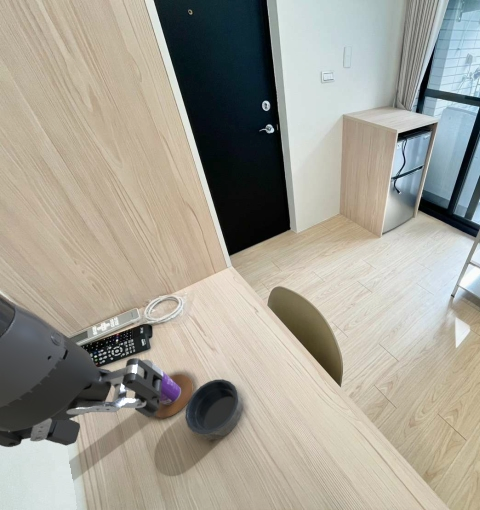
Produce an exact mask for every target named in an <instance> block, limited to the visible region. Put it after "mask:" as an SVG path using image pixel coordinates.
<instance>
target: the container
mask: <svg viewBox="0 0 480 510" xmlns="http://www.w3.org/2000/svg"><path fill="white" fill-rule="evenodd" d="M140 360H141V361H143V362H144V363H145V364H147V365H148V366H149V367H151V368H152V369H154V370H155V371H156V372H158V373H159V374H160V375H162V376H163V380H162V385H161V398H160V402H161V403H162V404H164V405H170V404H172V403H174V402H175V401H177V399H178V398H179V397H180V394H181V388H180V387H179V386H178V385H177V384H176V383H175V382H174V381H173V380H172V379H171V378H170V376H169V375H168V374H166V373H165V372H164V371H163V370H162V369H161V368H160V367H159V366H157V364H155V363H154V362H152V361H151V360H150V359H140Z"/></svg>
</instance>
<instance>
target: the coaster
mask: <svg viewBox="0 0 480 510" xmlns="http://www.w3.org/2000/svg"><path fill="white" fill-rule="evenodd" d="M169 377H170V378H171V379H172V380H173V381H174V382H175V383H176V384H177V385H178V386H179V387H180V388H181V394H180V397H179V398H178V399H177V401H175V402H174V403H172V404H170V405H164V404H162V403H161V402H159V410H158V411H157V413H156V415H155V416H154V417H156V418H159V419H160V418H161V419H162V418H163V419H164V418H169V417H173V416H174V415H176V414H177V413H180V411H182V410H183V409H184V408H185V407H187V405H188V402H189V400H190V398H191V397H192V395H193V394H194V384H193V381H192V379H191V378H190V377H189V376H187V375H186V374H182V373H181V374H179V373H178V374H172V375H170V376H169Z"/></svg>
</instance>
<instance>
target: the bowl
mask: <svg viewBox="0 0 480 510" xmlns="http://www.w3.org/2000/svg"><path fill="white" fill-rule="evenodd" d="M243 412H244V400H243V397H242V394H241V393H240V392H239V390H238V389H237V387H236V386H235V385H234V384H233V383H232V382H231V381H229V380H226V379H222V378H221V379H212V380H210V381H207V382H206V383H203V384H202V385H201V386H200V387H199V388H197V389H196V390H195V391H194V392H193V393H192V396H191V398H190V400H189V402H188V403H187V405H186V408H185V415H184V419H185V422H186V425H187V427H188V428H189V429H190V430H191V431H192V432H193V433H194V434H196V435H197V436H198V437H200V438H202V439H205V440H207V441H208V440H209V441H210V440H217V439H220V438H223V437H225V436H226V435H228V434H229V433H231V432H232V431H233V430H234V428H235V427H236V426H237V425H238V423H239V421H240V420H241V417H242V415H243Z"/></svg>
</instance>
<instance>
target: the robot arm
mask: <svg viewBox="0 0 480 510" xmlns="http://www.w3.org/2000/svg"><path fill="white" fill-rule="evenodd" d="M141 360H142V359H140V358H137V357H133V358H129V359H127V360H126V364H125V367H122V368H119V369H116V370H113V371H111V370H110V369H106V368H101V367H98V366H97V365H96V364H95V362H94V360H93V358H92V356H91V354H90V353H89V352H88V351H87V350H86V349H85V348H84V347H82V346H80V345H79V344H78V343H77V342H75V341H73V340H72V339H71V338H70V337H68V336H67V335H65V334H64V333H62V332H61V331H60V330H59V329H57V328H56V327H54V326H53V325H52V324H50V323H49V322H47V321H46V320H45V319H43V318H42V317H40V316H39V315H38V314H36V313H35V312H32V311H30V310H28V309H27V308H24V307H22V306H20V305H18V304H16V303H14V302H13V301H12V300H10V299H9V298H7V297H6V296H4V295H3V294H2V293H0V446H1V447H5V448H14V447H17V446H19V445H21V444H22V441H24V440H28V439H29V441H30V442H42V441H44V440H46V441H48V442H52V443H55V444H59V445H63V446H67V447H68V446H70V445H72V444H76V442H77V440H78V436H79V433H80V429H81V424H80V423H79V422H77V421H75V420H73V418H76V417H78V416H79V415H84V414H89V413H116V412H118V411H119V410H121V409H134V410H135V411H137V412H138V413H140V414H141V415H143V416H144V417H146V418H149V419H150V418H153V417H156V416H155V415H156V413H157V411H158V410H159V402H160V398H161V385H162V380H163V376H162V375H160V374H159V373H158V372H156V371H155V370H154V369H152V368H151V367H149V366H148V365H147V364H145V363H144V362H143V361H141ZM112 387H113V388H114V393H113V396H112V401H107V399H108V395H109V393H110V391H111V389H112ZM129 391H131V392H134V397H132V398H129V397H127V395H128V394H127V393H128V392H129Z"/></svg>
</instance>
